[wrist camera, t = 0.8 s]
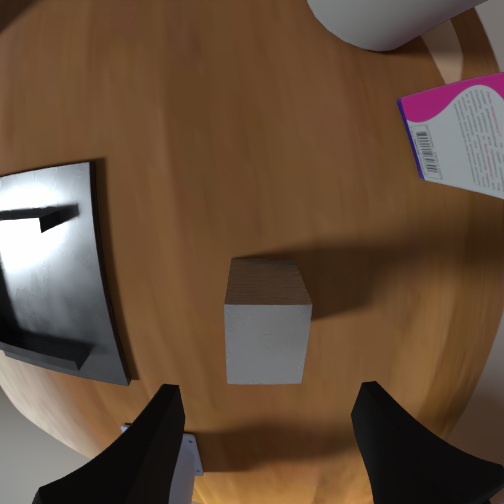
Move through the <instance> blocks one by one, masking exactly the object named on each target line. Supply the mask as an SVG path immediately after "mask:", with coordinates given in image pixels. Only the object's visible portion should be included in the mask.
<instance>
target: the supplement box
mask: <svg viewBox="0 0 504 504" xmlns="http://www.w3.org/2000/svg"><path fill="white" fill-rule="evenodd" d="M397 104H398V107H399V110H400V112H401V115H402V118H403V121H404V124H405V127H406V131H407V133H408V137H409V140H410V143H411V146H412V150H413V153H414V156H415V160H416V164H417V168H418V172H419V176H420V179H421V180H426V181H430V182H435V183H440V184H445V185H449V186H453V187H458V188H462V189H467V190H471V191H475V192H479V193H483V194H487V195H490V196H494V197H498V198H501V199H504V72H500V73H495V74H490V75H485V76H480V77H475V78H471V79H467V80H463V81H458V82H454V83H451V84H447V85H443V86H439V87H435V88H432V89H428V90H425V91H421V92H418V93H414V94H411V95H408V96H404V97H401V98H399V99H398V100H397Z"/></svg>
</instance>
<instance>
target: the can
mask: <svg viewBox="0 0 504 504" xmlns="http://www.w3.org/2000/svg"><path fill="white" fill-rule="evenodd" d="M307 1H308V4H309V6H310V8H311V10H312V11H313V13H314V15H315V17H316V18H317V19H318V20H319V21H320V22H321V23H322V24H323V25H324V26H325V27H326V29H327V30H329V31H330V32H332V33H333V34H335V35H336V36H337V37H339V38H340V39H342V40H343V41H345V42H348V43H350V44H352V45H355V46H357V47H359V48H362V49H368V50H373V51H387V50H394V49H396V48H398V47H400V46H402V45H404V44H405V43H407V42H409V41H410V40H412V39H414V38H416V37H417V36H419V35H421V34H423V33H424V32H426V31H428V30H430V29H432V28H433V27H435V26H437V25H439V24H441V23H443V22H445V21H447V20H448V19H450V18H452V17H454V16H456V15H458V14H460V13H462V12H464V11H466V10H468V9H470V8H472V7H475V6H477V5H479V4H481V3H483V2H485V1H488V0H307Z"/></svg>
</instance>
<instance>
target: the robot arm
mask: <svg viewBox="0 0 504 504" xmlns="http://www.w3.org/2000/svg"><path fill="white" fill-rule="evenodd" d="M351 418H352V423H353V428H354V433H355V437H356V440H357V443H358V446H359V449H360V452H361V455H362V458H363V461H364V464H365V467H366V470H367V473H368V476H369V480H370V484H371V489H372V495H373V501H374V504H491V503H490V501H489V499H490V498H491V497H493V496H494V495H495V494H496V493H498V492H499V491H500V490H501V489H502V488H503V487H504V467H503V466H502V465H500V464H496V463H493V462H489V461H486V460H483V459H480V458H477V457H475V456H472V455H470V454H467V453H465V452H463V451H461V450H459V449H457V448H456V447H454V446H452V445H450V444H448V443H447V442H445V441H444V440H442V439H441V438H439V437H438V436H436V435H435V434H433V433H432V432H430V431H429V430H428V429H427V428H425V427H424V426H423V425H422V424H420V423H419V422H418V421H417V420H416V419H414V418H413V417H412V416H411V415H410V414H409V413H408V412H407V411H406V410H405V409H403V408H402V407H401V406H400V405H399V404H398V403H397V402H396V401H395V400H394V399H393V398H392V397H391V396H390V395H389V394H388V393H387V392H386V391H385V390H384V389H383V388H382V387H381V386H380V385H379V384H378V383H377V382H376V381H372V382H364V383H362V385H361V388H360V391H359V394H358V396H357V399H356V402H355V405H354V407H353V410H352V413H351ZM184 425H185V413H184V408H183V404H182V399H181V394H180V389H179V385H171V384H163V385H161V387H160V388H159V390H158V391H157V393H156V394H155V395H154V397H153V398H152V399H151V401H150V402H149V403H148V405H147V406H146V407H145V408H144V410H143V411H142V412H141V413H140V414H139V416H138V417H137V418H136V419H135V420H134V422H133V423H132V424H131V425H124V424H123V425H122V426H121V429H122V432H123V433H122V434H121V435H120V436H119V437H118V438H117V439H116V440H115V441H114V442H113V443H112V444H111V445H110V446H109V447H107V448H106V449H105V450H104V451H103V452H102V453H100V454H99V455H98V456H96V457H95V458H94V459H92V460H91V461H90V462H88V463H87V464H85V465H84V466H82V467H80V468H79V469H77V470H75V471H74V472H72V473H70V474H68V475H66V476H65V477H63V478H61V479H58V480H56V481H54V482H51V483H49V484H47V485H44V486H42V487H40V488H39V489H38V491H37V493H36V495H35V497H34V500H33V502H32V504H191V502H192V495H193V487H194V480H195V476H203V473H204V472H203V468H202V464H201V460H200V456H199V452H198V447H197V443H196V439H195V436H194V435H192V434H185V433H184ZM501 504H504V502H503V503H501Z"/></svg>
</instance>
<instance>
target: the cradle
mask: <svg viewBox="0 0 504 504" xmlns="http://www.w3.org/2000/svg"><path fill="white" fill-rule="evenodd" d="M0 349H1V350H3V351H4V353H5V355H6V356H8V357H11V358H14V359H17V360H20V361H23V362H26V363H29V364H32V365H36V366H39V367H43V368H46V369H50V370H54V371H57V372H61V373H65V374H69V375H74V376H78V377H82V378H87V379H92V380H96V381H102V382H107V383H112V384H118V385H124V386H129V384H130V382H131V378H130V375H129V371H128V368H127V364H126V361H125V357H124V354H123V350H122V346H121V342H120V338H119V334H118V330H117V326H116V322H115V317H114V313H113V308H112V304H111V299H110V294H109V288H108V283H107V277H106V271H105V265H104V259H103V252H102V244H101V236H100V228H99V218H98V208H97V195H96V178H95V162H87V163H79V164H72V165H65V166H59V167H52V168H46V169H41V170H35V171H30V172H24V173H19V174H15V175H10V176H5V177H1V178H0Z"/></svg>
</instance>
